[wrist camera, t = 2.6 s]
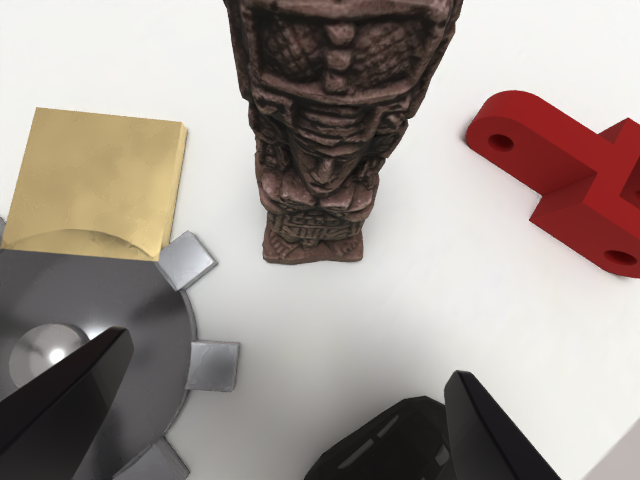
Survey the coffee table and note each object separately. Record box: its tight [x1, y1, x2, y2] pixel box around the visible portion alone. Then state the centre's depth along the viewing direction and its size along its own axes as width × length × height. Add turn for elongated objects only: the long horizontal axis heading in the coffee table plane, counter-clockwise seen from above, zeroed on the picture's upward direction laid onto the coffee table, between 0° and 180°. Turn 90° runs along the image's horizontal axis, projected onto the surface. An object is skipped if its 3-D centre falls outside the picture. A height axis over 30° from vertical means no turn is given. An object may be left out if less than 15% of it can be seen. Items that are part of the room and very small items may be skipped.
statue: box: [223, 0, 463, 265], centre depth 14 cm, size 7×7×20 cm
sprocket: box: [0, 107, 240, 480], centre depth 21 cm, size 27×21×2 cm
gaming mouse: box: [304, 396, 457, 480], centre depth 20 cm, size 6×15×4 cm, turn 124°
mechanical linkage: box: [466, 90, 640, 279], centre depth 23 cm, size 16×7×5 cm, turn 55°
